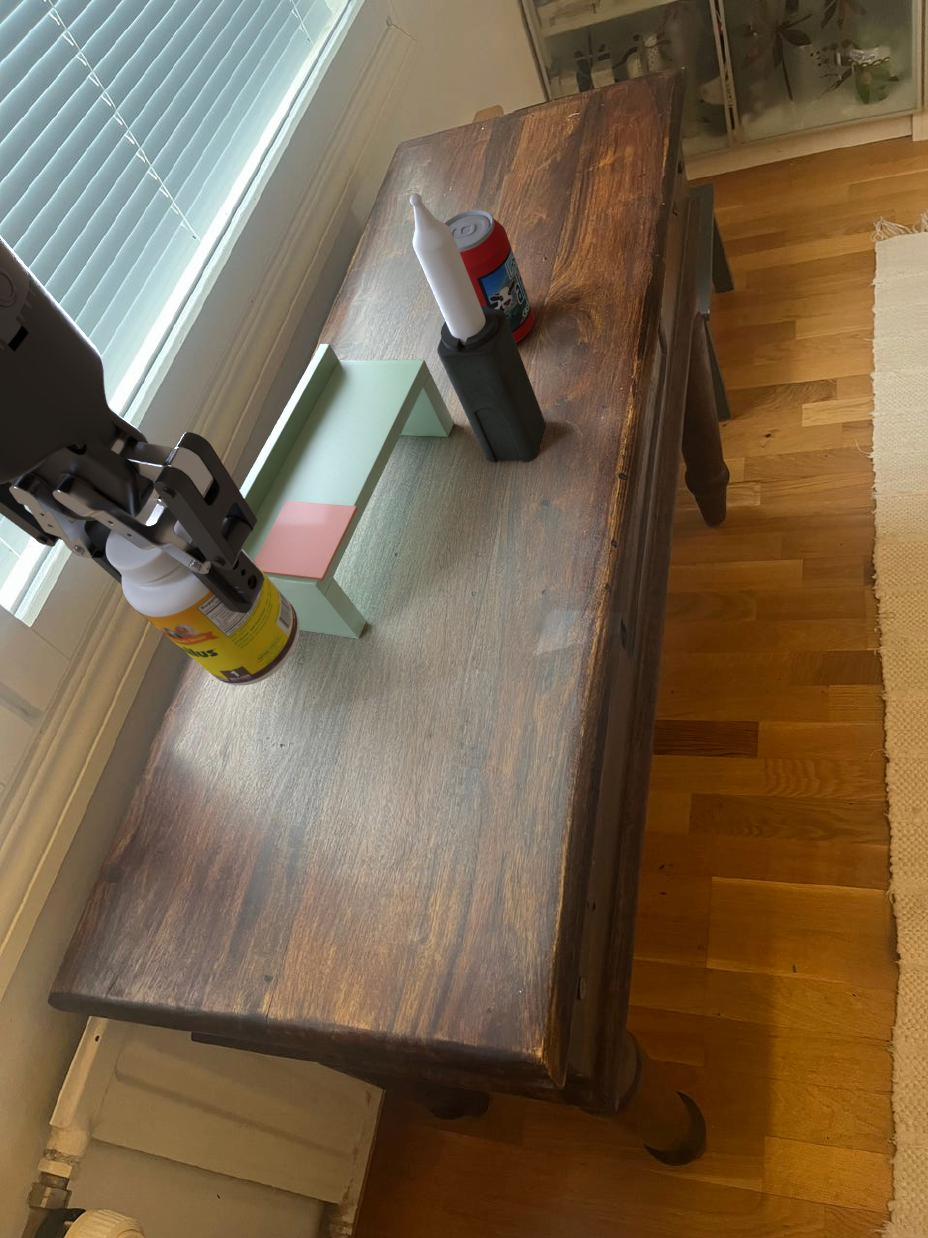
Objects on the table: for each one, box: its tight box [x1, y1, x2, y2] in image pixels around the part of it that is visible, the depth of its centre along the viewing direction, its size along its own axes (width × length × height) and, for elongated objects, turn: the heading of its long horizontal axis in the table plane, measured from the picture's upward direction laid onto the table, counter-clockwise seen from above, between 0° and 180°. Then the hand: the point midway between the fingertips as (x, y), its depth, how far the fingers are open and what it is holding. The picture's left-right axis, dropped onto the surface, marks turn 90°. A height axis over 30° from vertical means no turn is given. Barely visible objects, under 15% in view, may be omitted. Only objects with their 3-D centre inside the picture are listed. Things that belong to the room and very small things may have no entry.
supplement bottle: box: [106, 497, 300, 687], centre depth 46 cm, size 6×6×10 cm
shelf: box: [239, 343, 455, 639], centre depth 81 cm, size 24×10×10 cm, turn 160°
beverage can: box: [443, 209, 535, 344], centre depth 88 cm, size 7×7×12 cm
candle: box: [409, 192, 547, 464], centre depth 74 cm, size 5×5×25 cm
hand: (200, 588), depth 45 cm, fingers closed on supplement bottle, 5 cm apart
